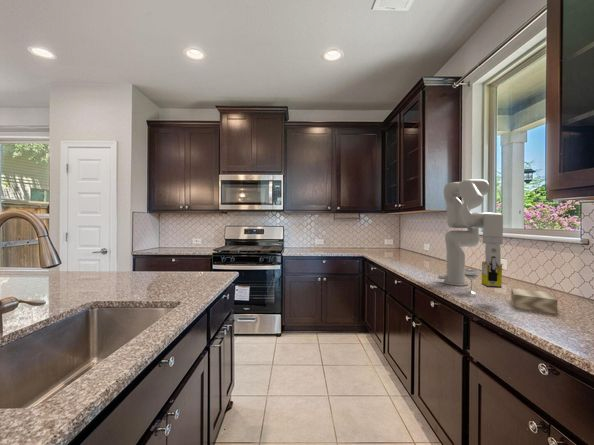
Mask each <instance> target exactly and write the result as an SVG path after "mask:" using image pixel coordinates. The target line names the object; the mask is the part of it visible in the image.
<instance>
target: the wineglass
mask: <svg viewBox="0 0 594 445" xmlns="http://www.w3.org/2000/svg"><path fill="white" fill-rule="evenodd" d="M479 271H480V269H476V268H465V272H464V275H465V278H467V279H468V280H469V281H470V290H468V291H466V294H473V295H477V294H478V292H476V291H473V281H474V280H476V279H478V278H479V277H480V272H479Z"/></svg>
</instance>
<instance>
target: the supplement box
mask: <svg viewBox="0 0 594 445" xmlns="http://www.w3.org/2000/svg"><path fill="white" fill-rule="evenodd" d="M490 265H492V264H490ZM488 272H489V266H488V265H487V263H486V260H484V261H482V262H481V285H483V286H484V287H486V288H490V289H491V288H492V289H502V287H503V286H502V285H503V283H502V282H503V281H502V280H503V279H502V277H503V276H502V275H503V263H501V266H500V267H499V266H498V265H497V281H496V282H495V281H489V280H488Z"/></svg>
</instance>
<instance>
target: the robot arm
mask: <svg viewBox="0 0 594 445" xmlns="http://www.w3.org/2000/svg"><path fill="white" fill-rule="evenodd" d="M489 191H490V184H489V182H488V180H485V179H481V178H480V179H473V178H472V179H464V180H462V181H454V182H448V183H447V184H445V185H444V188H443V196H444V199H445V200H444V201H445V204H446V217H447V218H446V220H447V225H448V227H449V228H452V229H453V230H449V231H447V232H446V233H445V235H444V241H445V248H446V274H445V275H438V276H437V278H438V279H439V280H443V283H444V284H446V285H449V286H457V287H458V286H461V287H463V286H468V283H469V282H467V281H465V280H466V276H465V275H464V272H465V269H466V254H465V252H464V250H463V249H462V247H465V248H466V247H467V248H469V247H470V248H471V247H476V246H477V245H479V241H480V236H479V235H480V232H479V230H480V229H482V244H485V247H484V249H485V250H484V251H485V252H484V253H485V256H484V258H485V261H486V263H487V265H488V266H489V272H488V280H489V281H495V282H496V281H497V265H498V266H499V267H500V266H501V264H502V262H501V260H502V259H501V255H502V254H501V245H503V244H504V243H503V242H504V241H503V240H504V236H503V234H504V216H503V214H502V213H497V212H495V213H494V212H471V210H473V209H475V208H478V207H479V206H481V205H482V204H483V203H484V196H485V195H488V193H489ZM459 197H461V199H462V200H463V202H464V203H463V202H462V200H460V199H459ZM454 229H461V230H454ZM462 229H466V230H462ZM490 264H492V265H490Z"/></svg>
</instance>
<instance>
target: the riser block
mask: <svg viewBox="0 0 594 445" xmlns="http://www.w3.org/2000/svg"><path fill="white" fill-rule="evenodd" d="M510 297H511V303H512V305H513V306H512V307H513V308H514V309H521V310H528V311H533V312H534V311H535V312H542V313H549V314H550V313H551V314H558V299H557V297H556V296H555V295H553V293H552V292H549V291H541V290H531V289H522V288H512V287H511V295H510Z"/></svg>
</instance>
